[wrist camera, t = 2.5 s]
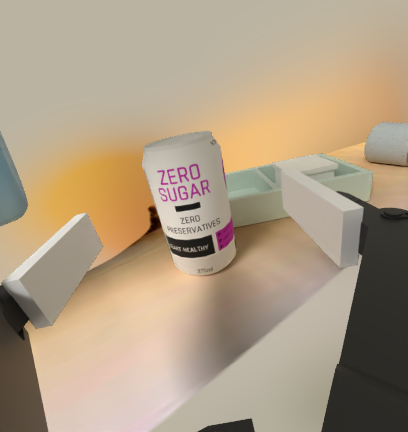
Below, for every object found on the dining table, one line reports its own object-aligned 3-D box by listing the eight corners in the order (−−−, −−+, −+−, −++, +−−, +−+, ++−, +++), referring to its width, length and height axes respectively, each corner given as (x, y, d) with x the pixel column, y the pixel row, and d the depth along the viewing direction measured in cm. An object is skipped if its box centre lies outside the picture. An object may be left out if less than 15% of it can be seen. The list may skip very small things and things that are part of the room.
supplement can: (216, 233, 34) (196, 129, 28) (250, 259, 27) (233, 129, 21) (167, 255, 32) (131, 146, 25) (190, 290, 25) (149, 153, 18)
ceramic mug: (408, 172, 40) (418, 126, 37) (361, 165, 47) (366, 126, 44) (441, 157, 43) (453, 113, 40) (392, 153, 50) (399, 116, 47)
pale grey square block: (289, 202, 37) (288, 173, 35) (273, 187, 44) (272, 162, 42) (336, 192, 37) (337, 163, 34) (313, 179, 43) (313, 154, 41)
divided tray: (193, 235, 35) (187, 209, 33) (192, 201, 47) (187, 181, 45) (369, 200, 34) (373, 171, 32) (320, 175, 46) (321, 153, 45)
